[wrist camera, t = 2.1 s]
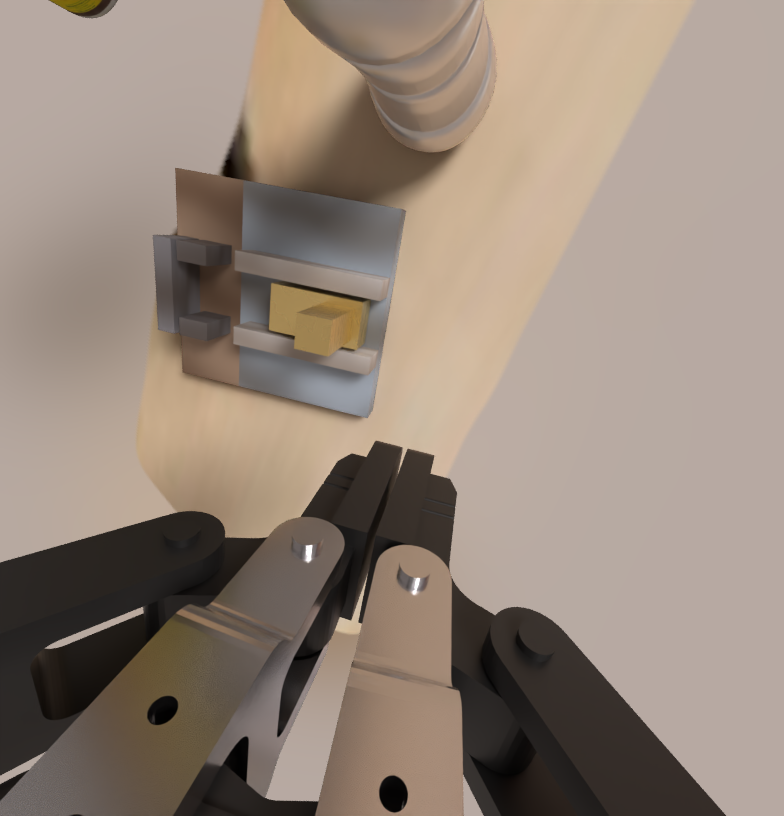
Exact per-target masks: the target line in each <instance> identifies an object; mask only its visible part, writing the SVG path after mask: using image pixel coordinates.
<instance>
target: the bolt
mask: <svg viewBox="0 0 784 816" xmlns="http://www.w3.org/2000/svg"><path fill="white" fill-rule="evenodd" d="M370 304H371V299H367V298H363V297H358V296H353V295H349V294H344V293H339V292H334V291H330V290H325V289H320V288H316V287H311V286H306V285H301V284H297V283H292V282H287V281H280V282H275V283H271V299H270V318H269V330H271V331H275V332H280V333H284V334H289V335H293V336H295V340H294V349H298V350H302V351H306V352H311V353H315V354H319V355H323V356H330V355H331V354H332V353H334V352H335V351H337V350H338V349H339V348H341V347H345V348H350V349H354V350H357V349H358V348H359V347H361V346H362V345H363V344H364V343H365V338H366V331H367V324H368V318H369V311H370Z"/></svg>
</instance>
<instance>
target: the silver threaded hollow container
mask: <svg viewBox="0 0 784 816" xmlns="http://www.w3.org/2000/svg"><path fill="white" fill-rule="evenodd" d="M284 1H285V3H286V4H287V6H288V8H289V9H290V11H291V12H292V14H293V15H294V16H295V17H296V18H297V19H298V20H299V21H300V22H301V23H302V24H303V25H304V26H305V27H306V29H307V30H308V31H309V32H310V33H311V34H313V35H314V36H315V37H316V38H317V39H318V40H319V41H320V42H321V43H322V44H323V45H324V46H326V47H327V48H329V49H330V50H332V51H333V52H335V53H336V54H337V55H339V56H341V57H342V58H343V59H345V60H346V61H348V62H349V63H350V64H352V65H353V66H355V67H356V68H357V70H358V71H359V72H360V73H361V74H362V75H363V76H364V77H365V79H366V81H367V83H368V86H369V90H370V94H371V98H372V101H373V103H374V106H375V109H376V111H377V113H378V116H379V118H380V120H381V122H382V123H383V125H384V126H385V128H386V130H387V131H388V132H389V133H390V134H391V135H392V136H393V137H394V138H395V139H396V140H397V141H399V142H400V143H402V144H403V145H404V146H406V147H409V148H411V149H414V150H416V151H423V152H430V153H432V152H442V151H445V150H448V149H451V148H453V147H455V146H456V145H458V144H460V143H461V142H463V141H464V140H465V139H466V138H467V137H468V136H469V135H470V134H471V133H472V132H473V131H474V129H475V128H476V127H477V126H478V124H479V123H480V121H481V120H482V118H483V116H484V114H485V112H486V110H487V109H488V107H489V104H490V101H491V98H492V95H493V92H494V87H495V82H496V76H497V57H496V50H495V43H494V39H493V36H492V32H491V29H490V26H489V23H488V20H487V17H486V15H485V12H484V0H284Z"/></svg>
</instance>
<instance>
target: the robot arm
mask: <svg viewBox="0 0 784 816" xmlns="http://www.w3.org/2000/svg"><path fill="white" fill-rule="evenodd" d="M402 449H403V448H402V447H399V446H395V445H391V444H387V443H383V442H380V441H375V443H374V445H373V446H372V448H371V450H370V452H369V454H368V455H367V457H364V456H360V455H356V454H350V455H348V456H346V457H345V458H343V459H341V460H339V461H338V462H337V463H336V465H335V466H334V468H333V469H332V471H331V472H330V475H328V477H327V478H326V480H325V481H324V484H322V486H321V487H320V489H319V490H318V492H317V493H316V495H315V496H314V498H313V499H312V501H311V502H310V504H309V505H308V507H307V508H306V510H305V511H304V512H303V514H302V515H301V517H299V518H294V519H291V520H288V521H286V522H284V523H282V524H280V525H279V526H278V527H277V528H276V529H274V531H273V532H272V533H271V534H270V535H269V536H268V537H266V538H225V529H224V526H223V524H222V523H221V521H220V520H219V519H217V518H216V517H214V516H212V515H210V514H207V513H203V512H196V511H185V512H178V513H173V514H170V515H166V516H162V517H159V518H156V519H152V520H149V521H145V522H141V523H138V524H134V525H131V526H127V527H124V528H120V529H117V530H113V531H110V532H106V533H103V534H99V535H96V536H92V537H88V538H85V539H81V540H78V541H75V542H71V543H67V544H64V545H60V546H57V547H54V548H50V549H47V550H43V551H39V552H36V553H32V554H29V555H25V556H22V557H18V558H15V559H11V560H8V561H4V562H1V563H0V775H2V774H4V773H6V772H8V771H10V770H12V769H14V768H15V767H17V766H19V765H21V764H23V763H25V762H27V761H29V760H31V759H32V758H34V757H36V756H38V755H40V754H42V753H44V752H45V754H44V755H43V756H42V757H41V758H40V759H39V760H38V761H37V762H36V763H35V764H34V766H32V768H31V769H30V770H28V771H26V772H23V773H21V774H19V775H17V776H15V777H13V778H11V779H9V780H8V781H6V782H4V783H2V784H0V816H464V810H463V808H464V807H463V775H464V777H465V779H466V781H467V783H468V785H469V787H470V789H471V791H472V793H473V795H474V797H475V799H476V801H477V803H478V805H479V807H480V809H481V811H482V813H483V815H484V816H726V815H725V814H724V813H723V812H722V810H721V809H720V808H719V807H718V806H717V805H716V804H715V803H714V801H713V800H712V799H711V798H710V797H709V796H708V795H707V793H706V792H705V791H704V790H703V789H702V788H701V787H700V785H699V784H698V783H697V782H696V781H695V780H694V779H693V778H692V776H691V775H690V774H689V773H688V772H687V771H686V770H685V768H684V767H683V766H682V765H681V764H680V763H679V762H678V761H677V759H676V758H675V757H674V756H673V755H672V754H671V753H670V751H669V750H668V749H667V748H666V747H665V746H664V745H663V743H662V742H661V741H660V740H659V739H658V738H657V737H656V736H655V735H654V733H653V732H652V731H651V730H650V729H649V728H648V727H647V725H646V724H645V723H644V722H643V721H642V720H641V718H640V717H639V716H638V715H637V714H636V713H635V712H634V711H633V709H632V708H631V707H630V706H629V705H628V704H627V703H626V702H625V700H624V699H623V698H622V697H621V696H620V695H619V694H618V692H617V691H616V690H615V689H614V688H613V687H612V686H611V684H610V683H609V682H608V681H607V680H606V679H605V678H604V676H603V675H602V674H601V673H600V672H599V671H598V670H597V669H596V667H595V666H594V665H593V664H592V663H591V662H590V660H589V659H588V658H587V657H586V656H585V655H584V654H583V653H582V651H581V650H580V649H579V648H578V647H577V646H576V645H575V643H574V642H573V641H572V640H571V639H570V638H569V637H568V635H567V634H566V633H565V632H564V631H563V630H562V629H561V628H560V627H559V626H558V625H556V624H555V623H554V622H553V621H552V620H550V619H549V618H547V617H546V616H544V615H542V614H540V613H538V612H536V611H533V610H531V609H526V608H521V607H511V608H507V609H504V610H502V611H500V612H499V613H497V614H496V615H493V614H492V613H490V612H488V611H487V610H485V609H483V608H482V607H480V606H478V605H477V604H475V603H474V602H472V601H471V600H470V599H468V598H467V597H466V596H465V595H464V594H463V593H462V592H461V591H460V590H459V589H458V587H457V586H456V585H455V583H454V581H453V579H452V577H451V574H450V570H449V561H450V551H451V542H452V533H453V524H454V514H455V505H456V496H457V492H456V490H455V488H454V486H453V484H452V482H451V480H450V479H448V478H444V477H441V476H437V475H433V474H430V473H431V468H432V464H433V460H434V455H431V454H427V453H423V452H419V451H415V450H411V449H407V452H406V455H405V457H404V460H403V463H402V465H401V468H400V471H399V473H398V470H399V465H400V460H401V455H402ZM397 475H398V476H397ZM367 574H368V576H367ZM366 577H367V581H366V586H365V591H364V596H363V601H362V606H361V612H360V617H359V623H362V626H361V631H360V635H359V639H358V643H357V648H356V652H355V656H354V660H353V662H352V665H351V669H350V673H349V677H348V681H347V685H346V689H345V693H344V697H343V701H342V706H341V710H340V714H339V718H338V722H337V727H336V731H335V735H334V739H333V743H332V747H331V752H330V756H329V760H328V764H327V769H326V772H325V776H324V781H323V785H322V789H321V793H320V797H319V801H318V802H317V801H316V802H315V801H314V802H313V801H275V800H269V799H267V798H265V797H266V794H267V791H268V789H269V785H270V783H271V779H272V776H273V773H274V769H275V766H276V763H277V760H278V757H279V754H280V752H281V750H282V747H283V745H284V743H285V741H286V739H287V736H288V734H289V732H290V730H291V728H292V726H293V723H294V721H295V719H296V717H297V715H298V713H299V711H300V708H301V706H302V704H303V702H304V700H305V698H306V696H307V693H308V691H309V689H310V687H311V685H312V683H313V681H314V678H315V676H316V674H317V672H318V670H319V668H320V666H321V663H322V661H323V659H324V657H325V655H326V652H327V650H328V645H329V641H330V639H331V637H332V635H333V633H334V630H335V628H336V625H337V623H338V620H339V617H342V618H345V619H348V620H351V619H352V617H353V614H354V611H355V608H356V605H357V602H358V600H359V597H360V594H361V591H362V588H363V585H364V582H365V580H366ZM141 607H143V610H144V613H143V614H141V615H138V616H136V617H134V618H131V619H128V620H126V621H124V622H121V623H119V624H116V625H114V626H111V627H109V628H107V629H104V630H102V631H100V632H97V633H94V634H92V635H89V636H87V637H85V638H82V639H80V640H77V641H75V642H72V643H70V644H68V645H65V646H62V647H59V648H54V649H44V648H45V647H47V646H49V645H50V644H52V643H54V642H56V641H58V640H60V639H63V638H66V637H68V636H71V635H73V634H76V633H78V632H81V631H83V630H86V629H88V628H91V627H93V626H95V625H98V624H101V623H103V622H106V621H108V620H111V619H113V618H116V617H118V616H120V615H123V614H125V613H128V612H131V611H133V610H136V609H138V608H141Z"/></svg>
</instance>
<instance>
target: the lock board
mask: <svg viewBox="0 0 784 816" xmlns="http://www.w3.org/2000/svg"><path fill="white" fill-rule="evenodd" d="M175 171H176V200H177V228H178V235H153V245H154V262H155V280H156V297H157V314H158V330H161V331H166V332H170V333H174V334H175V333H178V332H180V335H181V340H182V369H183V372H184V373H188V374H192V375H196V376H200V377H204V378H208V379H212V380H216V381H220V382H225V383H229V384H233V385H237V386H241V387H245V388H249V389H253V390H257V391H261V392H265V393H269V394H273V395H277V396H281V397H285V398H289V399H293V400H297V401H301V402H305V403H309V404H313V405H317V406H321V407H325V408H329V409H333V410H337V411H341V412H345V413H349V414H353V415H357V416H361V417H365V418H368V416H369V415H370V413H371V412H372V410H373V404H374V398H375V392H376V386H377V380H378V374H379V368H380V362H381V356H382V350H383V344H384V338H385V332H386V326H387V321H388V315H389V309H390V303H391V297H392V291H393V285H394V279H395V273H396V267H397V261H398V255H399V249H400V243H401V237H402V231H403V225H404V219H405V213H406V211H405V210H402V209H398V208H393V207H387V206H382V205H376V204H371V203H365V202H360V201H354V200H349V199H343V198H338V197H332V196H327V195H322V194H316V193H311V192H305V191H300V190H294V189H289V188H283V187H278V186H272V185H267V184H261V183H256V182H250V181H245V180H239V179H234V178H228V177H223V176H218V175H212V174H206V173H201V172H196V171H190V170H184V169H179V168H175ZM280 281H287V282H292V283H297V284H301V285H306V286H311V287H316V288H320V289H325V290H330V291H334V292H339V293H344V294H349V295H353V296H358V297H363V298H367V299H371V304H370V311H369V318H368V324H367V331H366V338H365V343H364V344H363V345H362V346H361V347H359V348H358V349H357V350H354V349H350V348H345V347H341V348H339V349H338V350H337V351H335V352H334V353H332V354H331V355H330V356H323V355H319V354H315V353H311V352H306V351H302V350H298V349H294V340H295V336H293V335H289V334H284V333H280V332H275V331H271V330H269V318H270V299H271V283H275V282H280Z"/></svg>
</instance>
